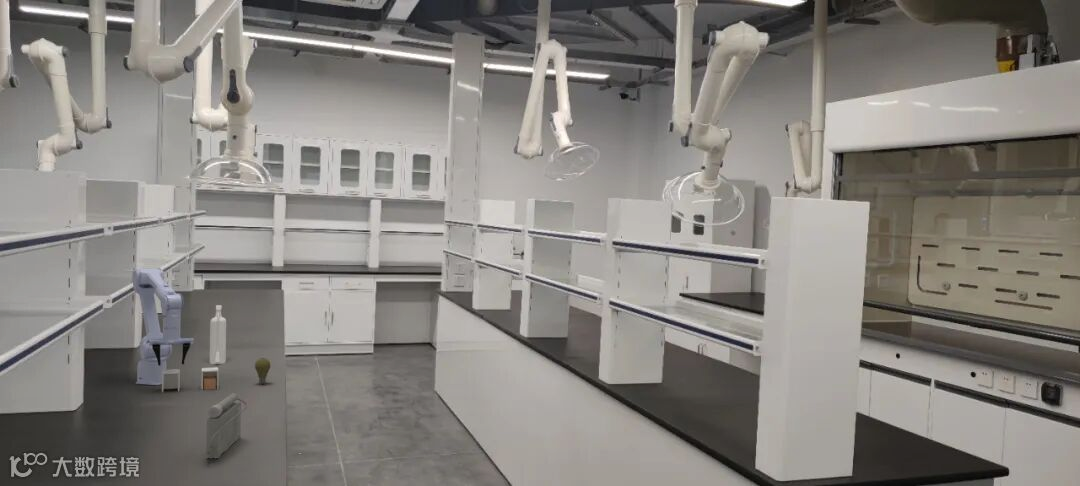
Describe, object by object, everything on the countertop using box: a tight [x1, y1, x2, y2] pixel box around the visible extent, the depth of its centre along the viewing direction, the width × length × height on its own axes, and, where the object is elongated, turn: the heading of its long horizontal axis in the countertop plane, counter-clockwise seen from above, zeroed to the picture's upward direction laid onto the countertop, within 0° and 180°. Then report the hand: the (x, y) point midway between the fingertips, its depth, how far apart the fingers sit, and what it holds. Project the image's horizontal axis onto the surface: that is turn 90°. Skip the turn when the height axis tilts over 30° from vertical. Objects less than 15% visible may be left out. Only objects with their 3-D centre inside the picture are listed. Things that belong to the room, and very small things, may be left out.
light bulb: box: [254, 357, 271, 385], centre depth 288 cm, size 6×6×10 cm
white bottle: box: [209, 304, 227, 365], centre depth 323 cm, size 7×12×25 cm, turn 19°
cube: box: [203, 376, 217, 390], centre depth 279 cm, size 4×4×4 cm
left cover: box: [161, 368, 181, 393], centre depth 274 cm, size 6×6×7 cm
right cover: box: [200, 367, 219, 391], centre depth 279 cm, size 6×6×7 cm
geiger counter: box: [205, 392, 248, 459], centre depth 209 cm, size 14×6×25 cm
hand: (171, 364), depth 274 cm, fingers open, 7 cm apart
